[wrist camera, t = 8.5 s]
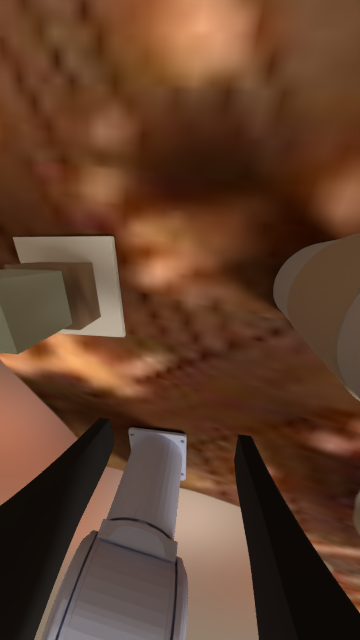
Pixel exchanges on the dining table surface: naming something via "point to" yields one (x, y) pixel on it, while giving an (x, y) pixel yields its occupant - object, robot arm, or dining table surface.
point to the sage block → (31, 308)
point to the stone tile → (104, 268)
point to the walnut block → (73, 289)
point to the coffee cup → (326, 304)
